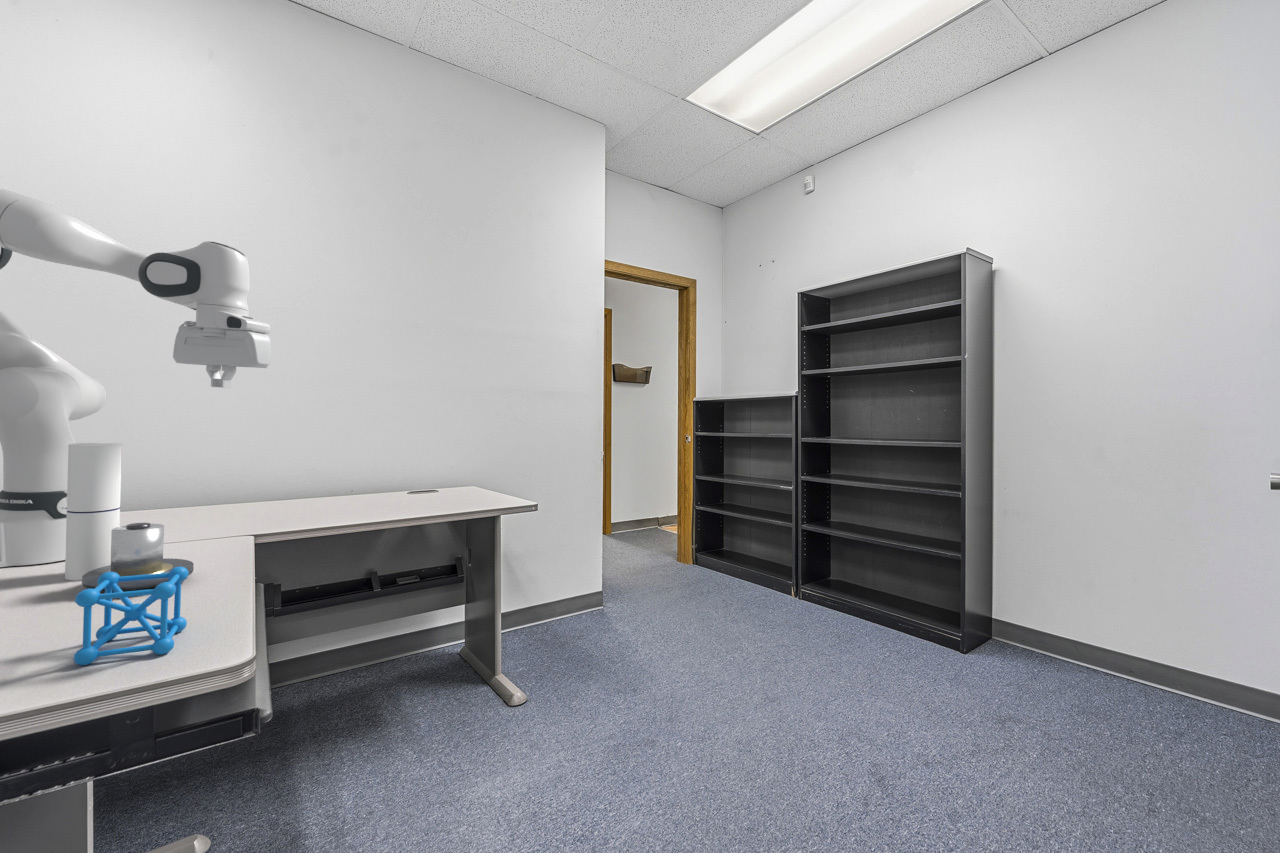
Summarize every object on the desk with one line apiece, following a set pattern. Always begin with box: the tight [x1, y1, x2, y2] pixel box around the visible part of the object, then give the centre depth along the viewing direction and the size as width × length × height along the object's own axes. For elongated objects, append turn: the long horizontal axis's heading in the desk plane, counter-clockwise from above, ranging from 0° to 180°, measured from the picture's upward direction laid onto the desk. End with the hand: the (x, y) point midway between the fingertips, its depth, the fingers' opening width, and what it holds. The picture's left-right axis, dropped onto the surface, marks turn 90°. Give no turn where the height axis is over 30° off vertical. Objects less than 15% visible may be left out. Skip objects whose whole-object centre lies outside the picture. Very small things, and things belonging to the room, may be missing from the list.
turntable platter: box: [81, 558, 195, 591], centre depth 99 cm, size 15×15×1 cm
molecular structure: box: [72, 567, 189, 666], centre depth 75 cm, size 10×10×10 cm
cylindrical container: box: [64, 442, 123, 582], centre depth 102 cm, size 7×7×25 cm
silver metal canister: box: [110, 522, 165, 577], centre depth 98 cm, size 7×7×9 cm
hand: (220, 387), depth 114 cm, fingers closed
